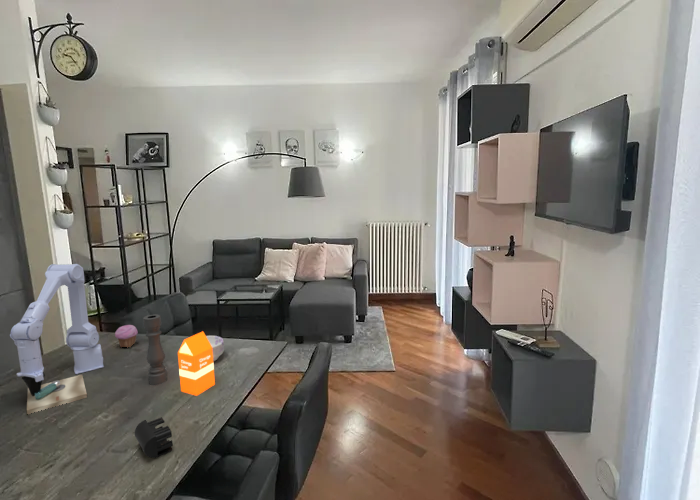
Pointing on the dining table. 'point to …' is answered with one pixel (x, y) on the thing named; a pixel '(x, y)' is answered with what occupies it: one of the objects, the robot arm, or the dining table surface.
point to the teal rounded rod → (47, 389)
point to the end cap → (154, 438)
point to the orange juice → (196, 364)
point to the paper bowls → (216, 346)
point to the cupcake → (126, 335)
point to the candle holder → (155, 350)
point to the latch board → (58, 395)
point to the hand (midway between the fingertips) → (36, 394)
